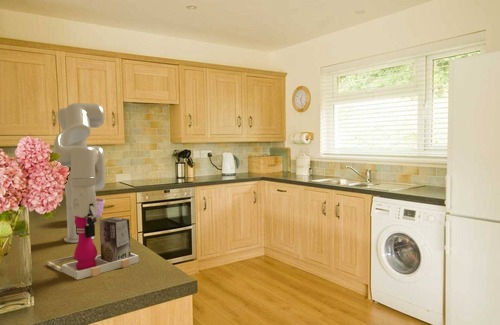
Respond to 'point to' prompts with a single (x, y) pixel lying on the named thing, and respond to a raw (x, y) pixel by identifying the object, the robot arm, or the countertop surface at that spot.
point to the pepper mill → (84, 247)
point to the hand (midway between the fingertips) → (85, 234)
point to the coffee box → (115, 239)
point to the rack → (98, 267)
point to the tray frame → (52, 263)
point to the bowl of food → (99, 206)
